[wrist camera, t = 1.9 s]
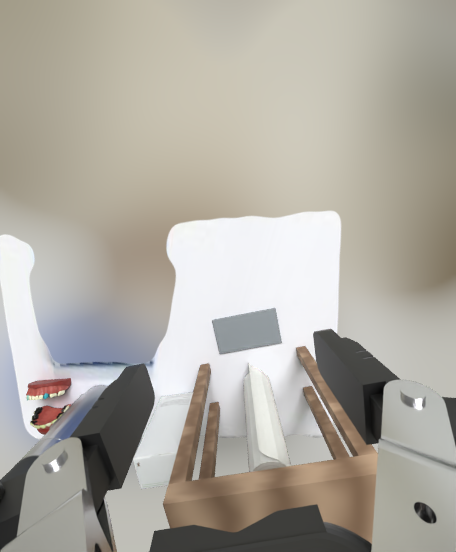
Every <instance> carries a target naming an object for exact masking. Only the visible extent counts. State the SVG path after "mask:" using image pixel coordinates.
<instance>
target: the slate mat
mask: <svg viewBox="0 0 456 552" xmlns="http://www.w3.org/2000/svg"><path fill="white" fill-rule="evenodd" d="M212 322H213V326H214V331H215V335H216V339H217V344H218V348H219V352H220V354H222V353H228V352H233V351H239V350H244V349H250V348H255V347H261V346H266V345H272V344H277V343H282V341H281V336H280V330H279V325H278V320H277V314H276V309H275V308H272V309H267V310H262V311H257V312H251V313H246V314H241V315H236V316H230V317H225V318H220V319H215V320H212Z"/></svg>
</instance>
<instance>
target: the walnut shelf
mask: <svg viewBox="0 0 456 552" xmlns="http://www.w3.org/2000/svg"><path fill="white" fill-rule="evenodd" d="M296 349H297V355H298V357H299V359H300V361H301V363H302V365H303V367H304V368H305V370H306V372H307V374H308V376H309V377H310V379H311V381H312V383H313V385H314V386H315V388H316V390H317V392H318V394H319V396H320V397H321V399H322V401H323V403H324V405H325V406H326V408H327V410H328V412H329V414H330V415H331V417H332V419H333V421H334V423H335V424H336V426H337V428H338V430H339V432H340V434H341V435H342V437H343V439H344V441H345V443H346V444H347V446H348V448H349V450H350V452H351V453H352V455H353V457H349V455H348V453H347V451H346V449H345V447H344V445H343V444H342V442H341V440H340V438H339V436H338V434H337V432H336V430H335V429H334V427H333V425H332V423H331V421H330V419H329V417H328V415H327V414H326V412H325V410H324V408H323V406H322V404H321V402H320V401H319V399H318V397H317V395H316V393H315V391H314V389H313V387H312V386H310V387H304V388H303V390H304V395H305V398H306V400H307V402H308V404H309V406H310V409H311V411H312V413H313V415H314V417H315V420H316V422H317V424H318V426H319V428H320V431H321V433H322V435H323V437H324V439H325V441H326V444H327V446H328V448H329V450H330V453H331V455H332V457H333V459H334V460H328V461H321V462H315V463H308V464H302V465H294V466H287V467H281V468H274V469H267V470H261V471H254V472H247V473H241V474H234V475H227V476H220V477H215V465H216V452H217V441H218V429H219V417H220V407H219V403H218V402H215V403H210V407H209V414H208V421H207V427H206V434H205V441H204V448H203V455H202V461H201V469H200V475H199V480H193V481H192V476H193V470H194V464H195V459H196V453H197V447H198V442H199V436H200V430H201V425H202V419H203V413H204V408H205V402H206V396H207V391H208V385H209V379H210V374H211V369H210V365H209V364H203V365H200V369H199V373H198V376H197V380H196V384H195V387H194V391H193V395H192V399H191V402H190V406H189V410H188V413H187V417H186V421H185V425H184V428H183V432H182V436H181V439H180V443H179V447H178V450H177V454H176V458H175V462H174V465H173V469H172V473H171V476H170V480H169V484H168V488H167V492H166V495H165V499H164V502H163V506H164V509H165V513H166V516H167V519H168V522H169V526H170V528H176V527H182V526H188V525H198V526H203V527H208V528H213V529H218V530H223V531H228V532H238V531H241V530H242V529H244V528H246V527H248V526H250V525H252V524H253V523H255V522H257V521H259V520H261V519H263V518H264V517H266V516H268V515H270V514H272V513H274V512H276V511H279V510H285V509H291V508H297V507H303V506H309V505H315V504H317V505H318V508H319V511H320V514H321V517H322V520H323V522H328V523H332V524H335V525H338V526H341V527H344V528H346V529H348V530H350V531H352V532H354V533H356V534H358V535H359V536H361V537H362V538H364V539H366V540H367V541H369V542H370V543H371V544H372V535H373V520H374V505H375V489H376V474H377V459H378V453H377V452H376V450H375V449H374V447H373V446H372V444H370V445H366V443H365V442H364V440H363V439H362V437H361V436H360V434H359V433H358V431H357V430H356V428H355V427H354V425H353V423H352V422H351V420H350V419H349V417H348V416H347V414H346V413H345V411H344V410H343V408H342V407H341V405H340V404H339V402H338V401H337V399H336V398H335V396H334V394H333V393H332V391H331V390H330V388H329V387H328V385H327V384H326V382H325V381H324V379H323V378H322V376H321V374H320V372H319V370H318V366H317V363H316V361H315V360H314V358H313V357H312V356H311V354H310V353H309V351H308V350H307V348H306V347H305V346H303V347H297V348H296Z"/></svg>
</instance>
